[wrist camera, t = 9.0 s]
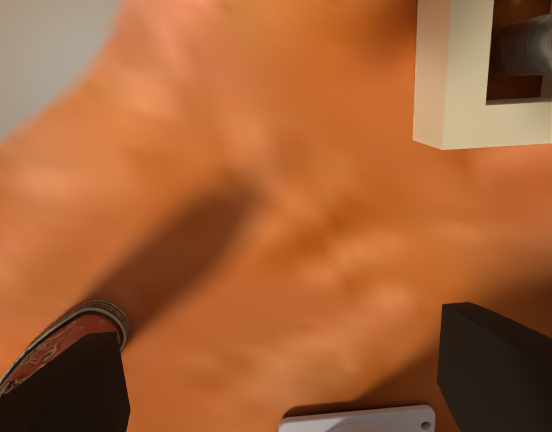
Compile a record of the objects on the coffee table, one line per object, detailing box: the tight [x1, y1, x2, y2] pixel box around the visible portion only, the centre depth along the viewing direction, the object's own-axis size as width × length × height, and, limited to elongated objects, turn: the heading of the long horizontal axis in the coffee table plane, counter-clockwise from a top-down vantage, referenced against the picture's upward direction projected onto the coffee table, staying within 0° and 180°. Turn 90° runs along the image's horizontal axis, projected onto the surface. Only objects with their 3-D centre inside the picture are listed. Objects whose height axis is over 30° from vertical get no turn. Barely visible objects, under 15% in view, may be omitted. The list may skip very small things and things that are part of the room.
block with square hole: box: [413, 0, 552, 150], centre depth 17 cm, size 7×7×3 cm
